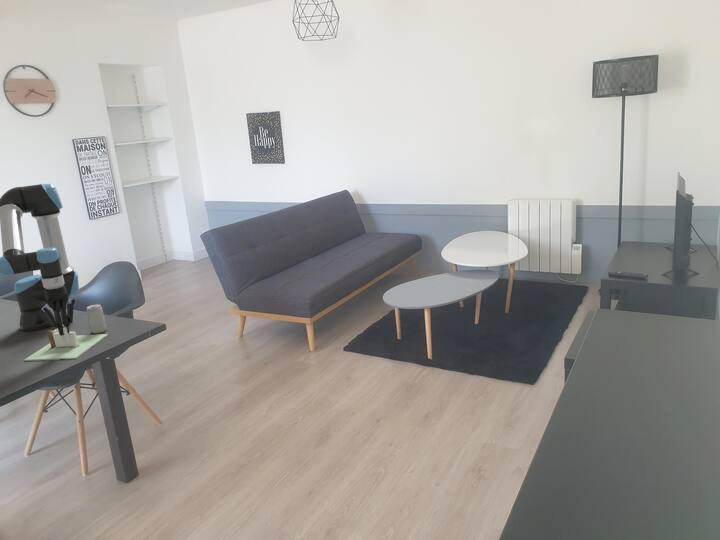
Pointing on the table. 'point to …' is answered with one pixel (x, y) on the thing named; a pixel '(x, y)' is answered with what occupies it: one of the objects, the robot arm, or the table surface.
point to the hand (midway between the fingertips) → (66, 341)
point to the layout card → (67, 349)
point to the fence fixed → (51, 338)
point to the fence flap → (60, 342)
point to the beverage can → (96, 319)
